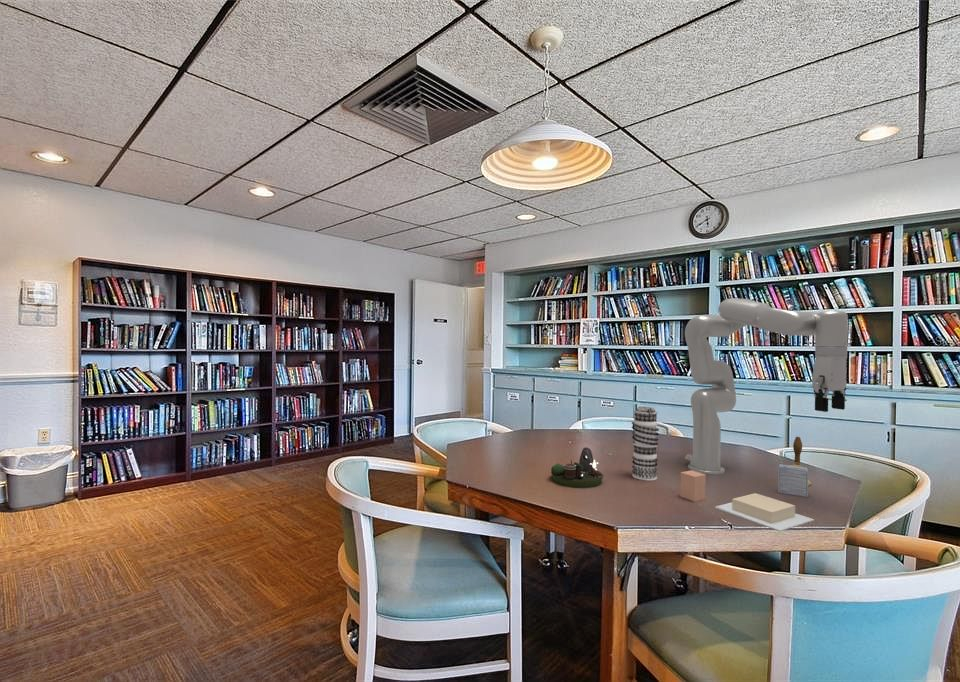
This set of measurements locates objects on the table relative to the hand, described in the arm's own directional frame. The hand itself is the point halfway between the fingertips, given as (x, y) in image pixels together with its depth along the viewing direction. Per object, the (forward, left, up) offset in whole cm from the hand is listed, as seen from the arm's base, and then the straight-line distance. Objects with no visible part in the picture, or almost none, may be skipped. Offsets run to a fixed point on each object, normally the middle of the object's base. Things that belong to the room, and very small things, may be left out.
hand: (829, 410), depth 133 cm
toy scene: (-53, -52, -30) cm, 80 cm away
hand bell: (-18, +17, -30) cm, 38 cm away
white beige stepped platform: (-5, -25, -29) cm, 39 cm away
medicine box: (-12, +3, -30) cm, 32 cm away
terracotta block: (-23, -31, -29) cm, 48 cm away
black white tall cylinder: (-45, -27, -29) cm, 60 cm away
